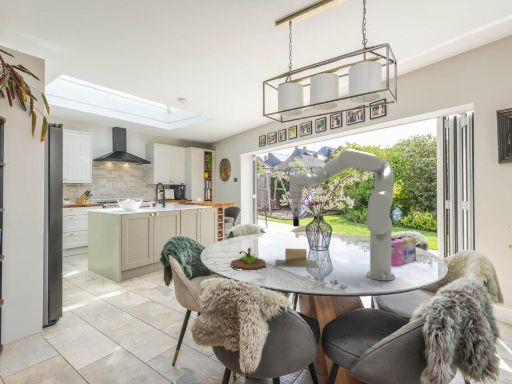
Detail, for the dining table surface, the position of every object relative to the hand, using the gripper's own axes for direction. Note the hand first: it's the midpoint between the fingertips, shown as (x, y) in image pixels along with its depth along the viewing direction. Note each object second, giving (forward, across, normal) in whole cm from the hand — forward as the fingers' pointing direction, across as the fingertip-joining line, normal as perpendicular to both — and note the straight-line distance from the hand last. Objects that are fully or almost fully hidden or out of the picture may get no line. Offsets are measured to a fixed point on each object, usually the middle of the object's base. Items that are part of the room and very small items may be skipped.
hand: (295, 225), depth 158 cm
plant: (+23, -7, +27) cm, 36 cm away
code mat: (+23, 0, 0) cm, 23 cm away
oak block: (+22, 0, 0) cm, 22 cm away
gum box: (+23, +10, -61) cm, 66 cm away
